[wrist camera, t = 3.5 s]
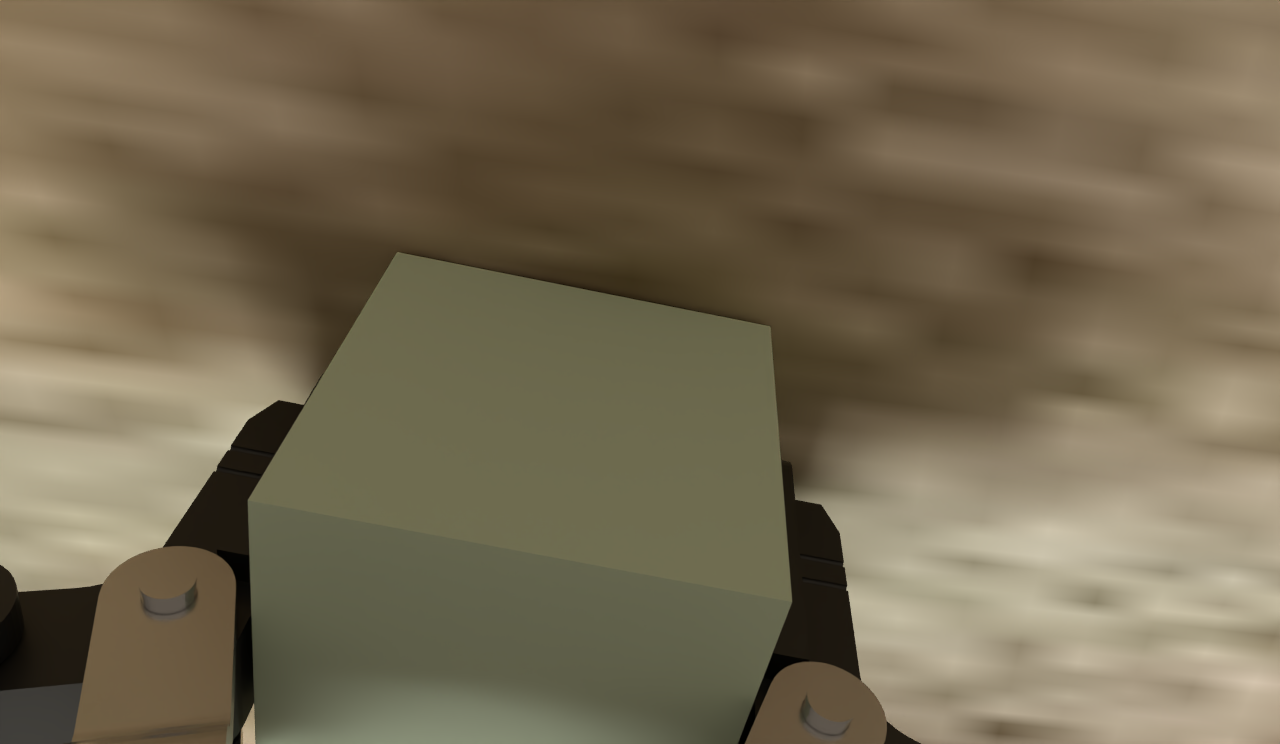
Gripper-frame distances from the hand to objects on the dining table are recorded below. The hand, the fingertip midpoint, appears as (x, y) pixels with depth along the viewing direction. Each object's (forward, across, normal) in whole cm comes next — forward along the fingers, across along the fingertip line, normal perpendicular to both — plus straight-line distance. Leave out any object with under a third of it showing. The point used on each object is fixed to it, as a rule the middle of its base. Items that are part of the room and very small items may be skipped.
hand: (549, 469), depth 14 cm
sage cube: (+1, 0, 0) cm, 1 cm away
